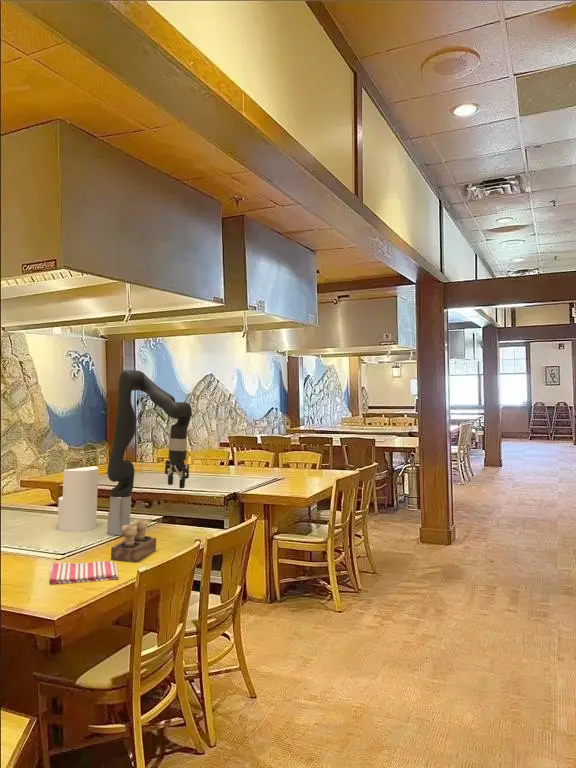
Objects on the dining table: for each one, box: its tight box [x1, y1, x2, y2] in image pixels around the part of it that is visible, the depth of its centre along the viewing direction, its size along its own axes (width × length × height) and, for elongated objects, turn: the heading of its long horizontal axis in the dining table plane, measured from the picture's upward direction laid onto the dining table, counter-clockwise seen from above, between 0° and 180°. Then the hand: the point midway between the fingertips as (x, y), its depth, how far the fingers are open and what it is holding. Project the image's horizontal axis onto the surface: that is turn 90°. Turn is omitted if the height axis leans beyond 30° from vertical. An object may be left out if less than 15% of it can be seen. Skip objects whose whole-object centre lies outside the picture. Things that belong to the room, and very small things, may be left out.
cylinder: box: [57, 465, 99, 533], centre depth 284 cm, size 17×17×28 cm
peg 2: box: [132, 518, 148, 540], centre depth 248 cm, size 6×6×9 cm
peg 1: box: [121, 524, 137, 546], centre depth 239 cm, size 6×6×9 cm
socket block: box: [110, 535, 157, 563], centre depth 244 cm, size 11×18×6 cm, turn 169°
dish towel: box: [49, 560, 119, 585], centre depth 217 cm, size 17×23×4 cm
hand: (176, 486), depth 257 cm, fingers open, 8 cm apart
